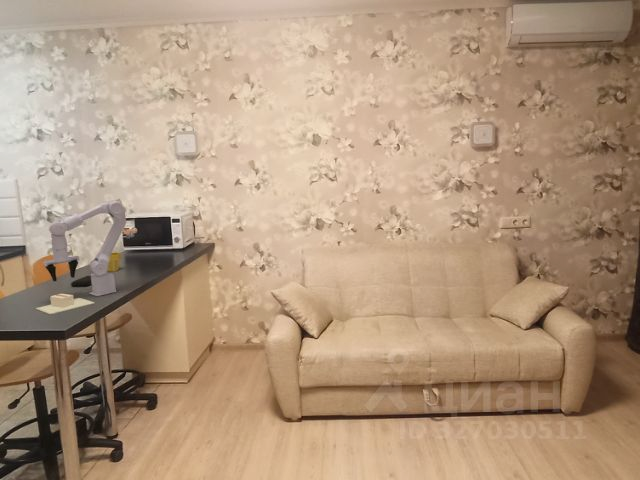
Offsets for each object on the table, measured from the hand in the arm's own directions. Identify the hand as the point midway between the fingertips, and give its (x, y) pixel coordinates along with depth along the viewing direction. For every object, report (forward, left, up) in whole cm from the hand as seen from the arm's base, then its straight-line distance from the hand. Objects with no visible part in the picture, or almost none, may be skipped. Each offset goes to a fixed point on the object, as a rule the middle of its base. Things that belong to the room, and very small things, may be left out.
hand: (63, 279), depth 208 cm
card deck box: (+5, +9, -9) cm, 14 cm away
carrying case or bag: (-20, -23, -10) cm, 32 cm away
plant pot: (-43, -41, -10) cm, 60 cm away
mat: (+5, +11, -9) cm, 15 cm away
